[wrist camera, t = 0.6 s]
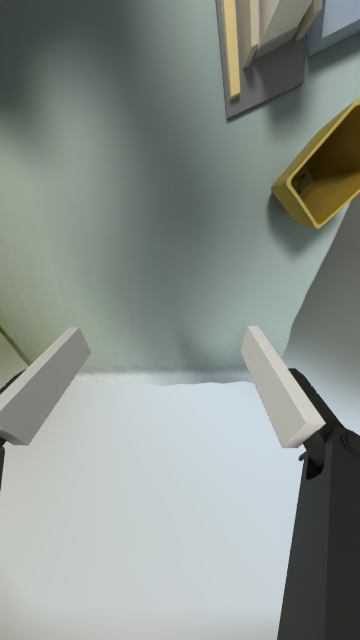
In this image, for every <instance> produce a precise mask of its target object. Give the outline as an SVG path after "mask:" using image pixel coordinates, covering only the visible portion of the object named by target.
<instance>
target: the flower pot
mask: <svg viewBox="0 0 360 640" xmlns="http://www.w3.org/2000/svg"><path fill="white" fill-rule="evenodd" d="M302 174H304V177H303V178H301V175H302ZM271 190H272V192H273V194H274V195H275V196H276V198H277V199H278V200H279V202H280V203H281V204H282V206H283V207H284V209H285V210H286V211H287V213H288V214H289V216H290V217H291V218H292V219H293V220H294V221H295V222H297V223H299V224H302V225H306V226H309V227H312V228H316V229H319V228H321V227H322V226H323V225H324V224H325V223H327V222H328V221H329V220H330V219H331V218H332V217H333V216H334V215H335V214H336V213H337V212H338V211H339V210H341V209H342V208H343V207H344V206H345V205H346V204H347V203H348V202H349V201H351V200H352V199H353V198H354V197H355V196H356V195H357V194H358V193H359V192H360V97H359V98H357V99H356V100H355V101H354V102H353V103H352V104H350V105H349V106H348V107H347V108H346V109H344V110H343V111H342V112H341V113H340V114H338V115H337V116H336V117H335V118H334V119H332V120H331V121H330V122H329V123H328V124H326V125H325V126H324V127H323V128H322V129H321V130H320V131H319V132H318V133H317V134H316V135H315V136H314V137H313V138H312V139H311V141H310V142H309V143H308V144H307V145H306V147H305V148H304V149H303V150H302V151H301V153H300V154H299V155H298V156H297V157H296V159H295V160H294V161H293V162H292V163H291V165H290V166H289V167H288V168H287V169H286V171H285V172H284V173H283V174H282V175H281V176H280V178H279V179H278V180H277V181H276V182H275V183H274V185H273V186H272V188H271ZM298 191H299V192H300V194H299V195H298V194H297V192H298Z"/></svg>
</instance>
